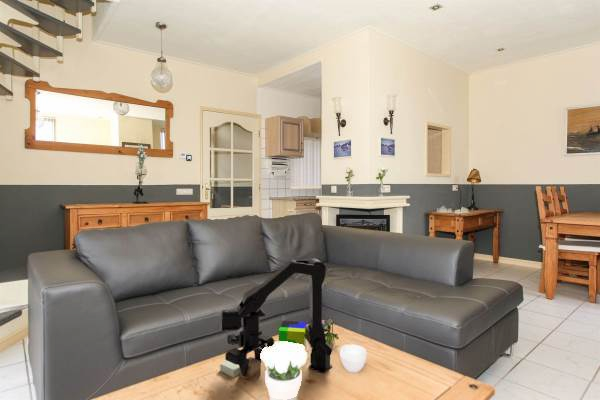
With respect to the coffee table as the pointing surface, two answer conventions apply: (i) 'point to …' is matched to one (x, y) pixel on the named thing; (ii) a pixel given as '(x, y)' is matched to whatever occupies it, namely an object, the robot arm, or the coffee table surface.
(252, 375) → the walnut cube
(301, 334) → the puzzle toy
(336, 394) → the coffee table surface
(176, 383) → the coffee table surface
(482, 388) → the coffee table surface
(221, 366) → the pale green block
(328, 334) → the passion flower
